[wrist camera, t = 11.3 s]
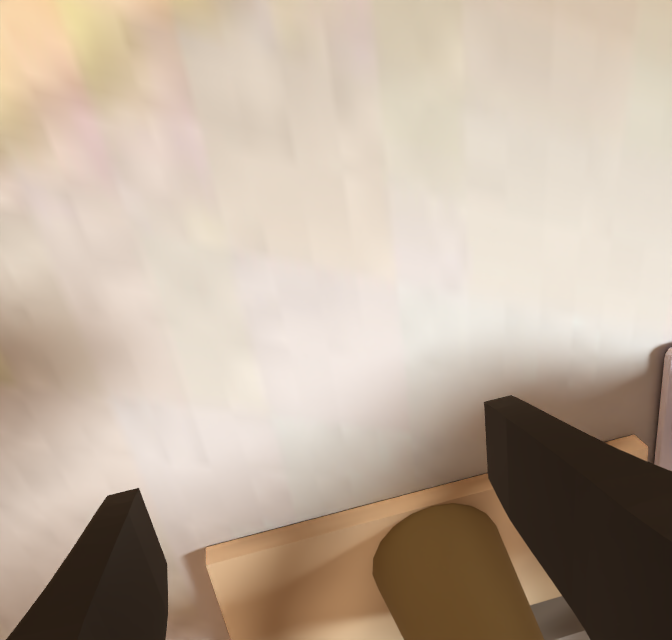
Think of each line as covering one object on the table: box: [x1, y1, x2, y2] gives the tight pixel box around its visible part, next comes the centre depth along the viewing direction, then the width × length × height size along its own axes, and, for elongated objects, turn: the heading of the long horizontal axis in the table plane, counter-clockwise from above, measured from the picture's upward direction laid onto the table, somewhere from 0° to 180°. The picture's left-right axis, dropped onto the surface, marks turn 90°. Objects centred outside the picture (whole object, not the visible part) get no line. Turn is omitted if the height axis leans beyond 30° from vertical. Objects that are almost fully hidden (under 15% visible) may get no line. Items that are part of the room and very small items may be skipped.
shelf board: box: [206, 435, 648, 640], centre depth 27 cm, size 20×9×3 cm, turn 99°
